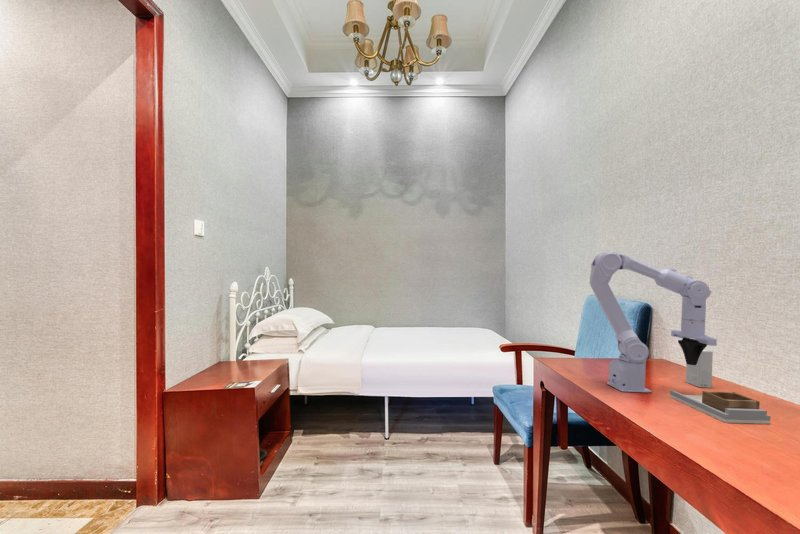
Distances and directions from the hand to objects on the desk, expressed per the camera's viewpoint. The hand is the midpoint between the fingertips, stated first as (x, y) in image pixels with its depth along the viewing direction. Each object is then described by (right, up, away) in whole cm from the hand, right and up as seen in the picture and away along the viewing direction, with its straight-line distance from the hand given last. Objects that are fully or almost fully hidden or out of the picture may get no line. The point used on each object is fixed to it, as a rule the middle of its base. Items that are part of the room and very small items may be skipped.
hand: (691, 364), depth 112 cm
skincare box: (+11, -10, +11) cm, 19 cm away
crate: (-2, -8, -15) cm, 17 cm away
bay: (-2, -9, -11) cm, 15 cm away
